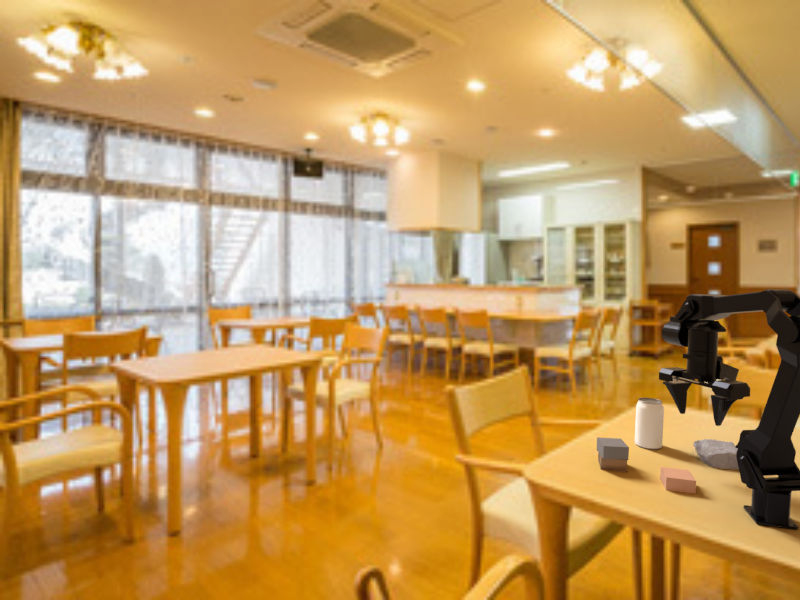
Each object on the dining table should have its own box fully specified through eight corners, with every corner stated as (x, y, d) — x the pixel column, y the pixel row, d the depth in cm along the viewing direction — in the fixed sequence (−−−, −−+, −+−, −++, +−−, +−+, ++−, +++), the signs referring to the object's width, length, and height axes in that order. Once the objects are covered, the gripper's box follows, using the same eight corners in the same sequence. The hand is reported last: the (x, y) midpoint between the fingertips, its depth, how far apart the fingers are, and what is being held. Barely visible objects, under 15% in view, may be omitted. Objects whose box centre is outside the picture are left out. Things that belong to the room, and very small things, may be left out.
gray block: (628, 460, 110) (628, 447, 109) (603, 458, 110) (603, 445, 110) (620, 450, 115) (620, 438, 115) (596, 449, 116) (596, 437, 116)
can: (647, 451, 122) (649, 404, 121) (628, 442, 128) (630, 398, 127) (668, 448, 124) (670, 403, 123) (648, 439, 130) (650, 396, 129)
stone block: (708, 476, 112) (756, 471, 110) (704, 455, 112) (752, 451, 110) (689, 458, 124) (731, 453, 122) (685, 439, 124) (728, 435, 122)
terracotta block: (695, 494, 99) (696, 480, 99) (665, 491, 101) (666, 477, 101) (688, 483, 105) (688, 470, 104) (660, 479, 106) (660, 466, 106)
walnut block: (626, 473, 110) (627, 460, 109) (600, 470, 111) (601, 457, 111) (622, 463, 115) (623, 451, 115) (598, 461, 116) (598, 449, 116)
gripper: (772, 355, 100) (768, 429, 101) (695, 343, 118) (692, 406, 119) (730, 357, 97) (727, 433, 98) (658, 344, 115) (655, 409, 116)
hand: (699, 419), depth 108 cm, fingers open, 9 cm apart
